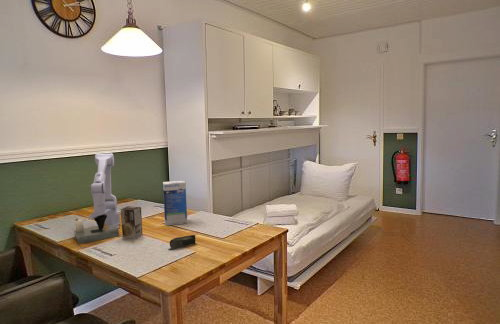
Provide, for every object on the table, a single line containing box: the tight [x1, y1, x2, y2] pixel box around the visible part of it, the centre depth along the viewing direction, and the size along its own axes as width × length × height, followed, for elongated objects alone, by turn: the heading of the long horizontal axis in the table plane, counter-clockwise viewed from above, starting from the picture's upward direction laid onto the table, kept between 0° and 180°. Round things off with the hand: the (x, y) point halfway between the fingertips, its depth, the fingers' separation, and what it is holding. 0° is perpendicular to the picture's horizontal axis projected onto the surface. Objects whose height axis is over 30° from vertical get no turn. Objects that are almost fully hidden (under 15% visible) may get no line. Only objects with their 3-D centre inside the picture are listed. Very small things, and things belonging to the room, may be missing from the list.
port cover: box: [103, 223, 121, 231], centre depth 192 cm, size 8×8×3 cm
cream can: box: [74, 217, 85, 232], centre depth 189 cm, size 4×4×7 cm
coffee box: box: [120, 205, 143, 240], centre depth 188 cm, size 9×6×16 cm
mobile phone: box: [167, 234, 196, 251], centre depth 173 cm, size 5×3×15 cm
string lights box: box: [162, 180, 188, 226], centre depth 211 cm, size 13×8×26 cm, turn 108°
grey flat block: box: [73, 224, 120, 245], centre depth 190 cm, size 20×14×4 cm
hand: (101, 228), depth 188 cm, fingers closed
